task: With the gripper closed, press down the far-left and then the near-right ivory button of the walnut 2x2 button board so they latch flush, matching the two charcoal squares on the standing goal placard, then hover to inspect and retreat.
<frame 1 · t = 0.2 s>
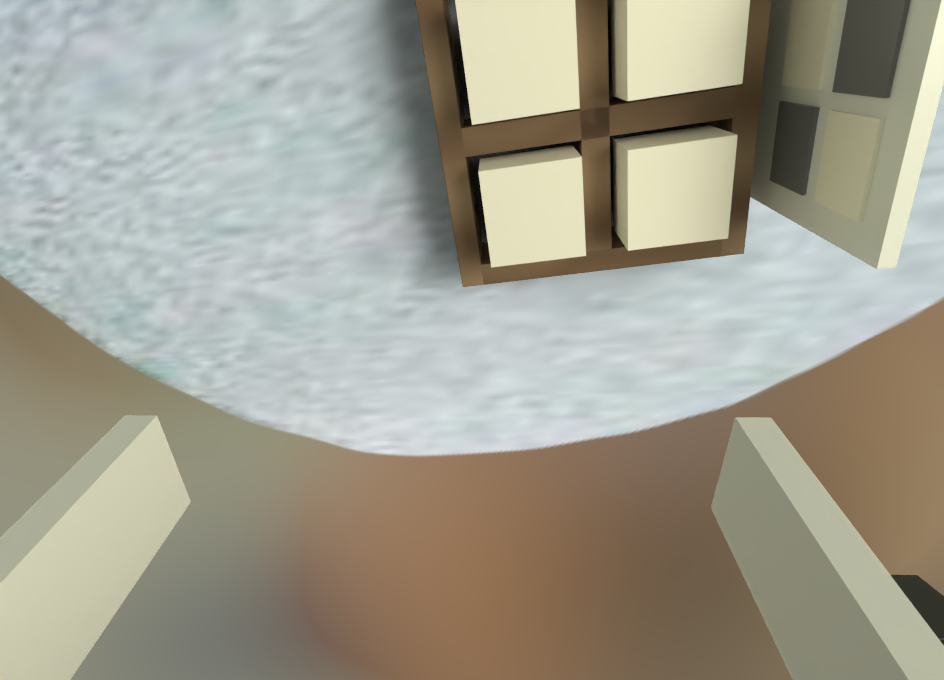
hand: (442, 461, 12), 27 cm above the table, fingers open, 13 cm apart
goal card: (762, 88, 32), on the table
board: (583, 115, 33), on the table
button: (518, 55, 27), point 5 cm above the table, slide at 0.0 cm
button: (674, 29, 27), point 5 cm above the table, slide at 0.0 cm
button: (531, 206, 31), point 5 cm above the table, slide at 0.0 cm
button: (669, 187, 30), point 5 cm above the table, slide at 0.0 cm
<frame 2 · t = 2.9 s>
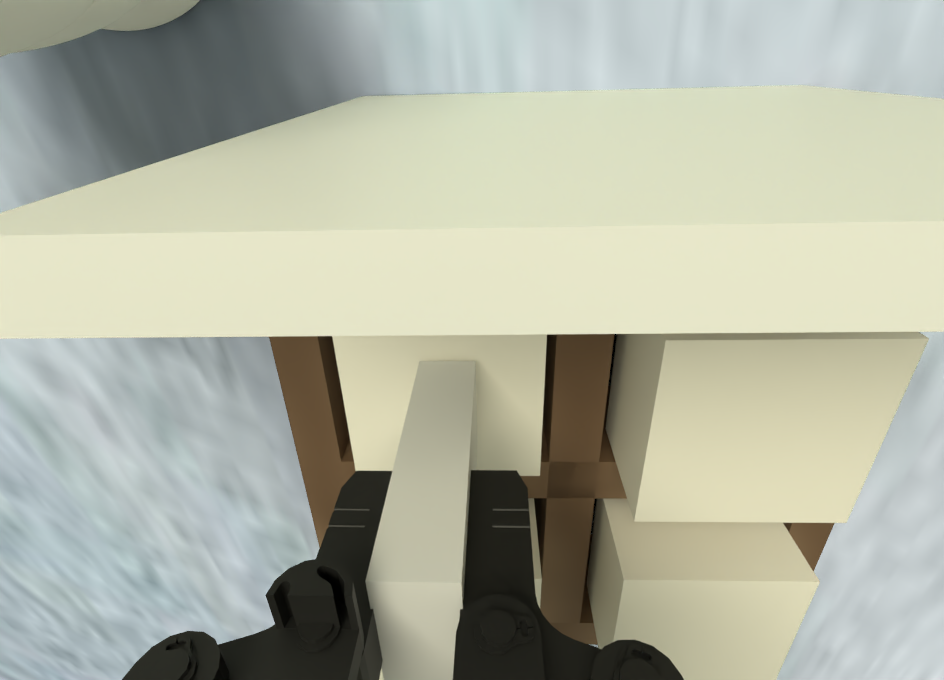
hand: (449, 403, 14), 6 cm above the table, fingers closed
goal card: (576, 105, 16), on the table
board: (557, 402, 21), on the table
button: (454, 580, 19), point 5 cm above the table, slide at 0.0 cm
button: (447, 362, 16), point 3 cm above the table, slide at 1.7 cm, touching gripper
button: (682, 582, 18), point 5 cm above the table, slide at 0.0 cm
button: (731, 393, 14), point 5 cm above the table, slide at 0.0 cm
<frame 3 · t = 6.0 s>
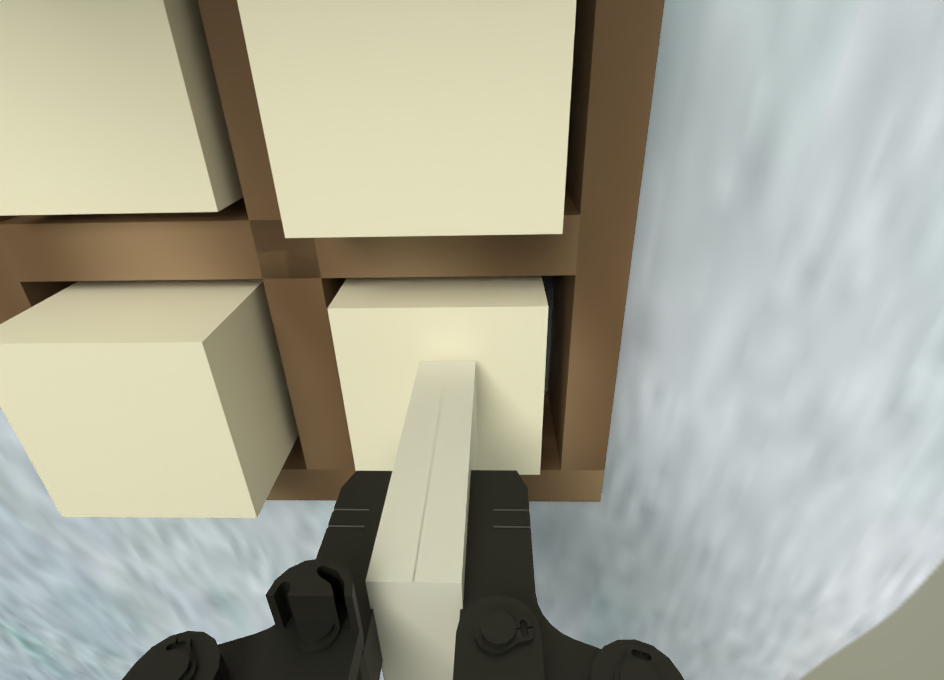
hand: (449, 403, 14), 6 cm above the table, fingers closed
board: (330, 206, 18), on the table
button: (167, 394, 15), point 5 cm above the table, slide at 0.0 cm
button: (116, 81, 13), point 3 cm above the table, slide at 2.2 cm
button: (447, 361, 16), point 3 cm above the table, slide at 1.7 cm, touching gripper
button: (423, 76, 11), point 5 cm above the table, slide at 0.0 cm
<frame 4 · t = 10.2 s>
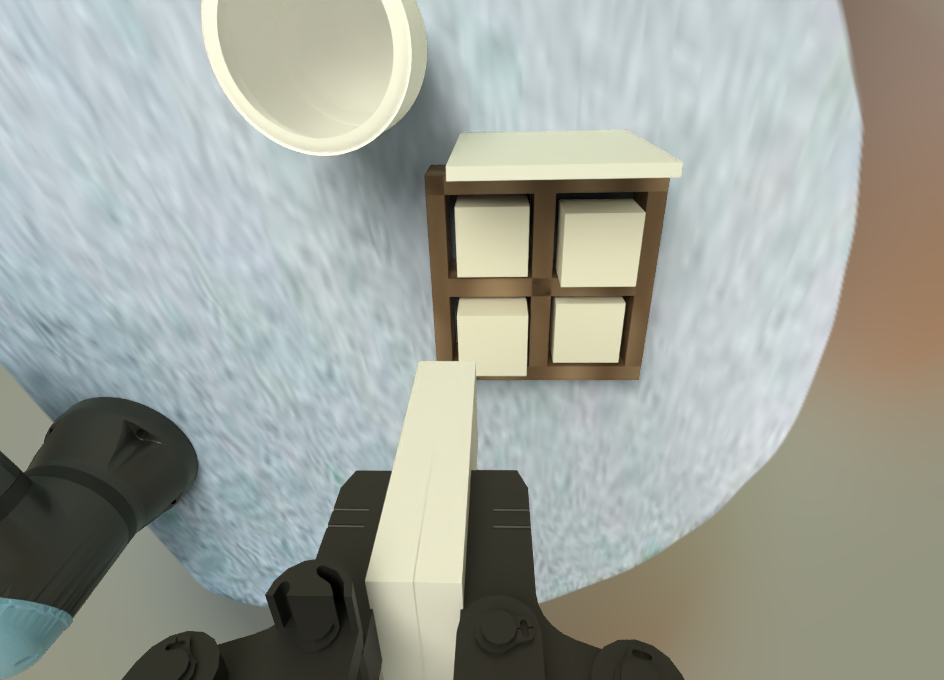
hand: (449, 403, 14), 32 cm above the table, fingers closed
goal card: (542, 136, 41), on the table
jar: (370, 47, 39), on the table
board: (537, 267, 46), on the table
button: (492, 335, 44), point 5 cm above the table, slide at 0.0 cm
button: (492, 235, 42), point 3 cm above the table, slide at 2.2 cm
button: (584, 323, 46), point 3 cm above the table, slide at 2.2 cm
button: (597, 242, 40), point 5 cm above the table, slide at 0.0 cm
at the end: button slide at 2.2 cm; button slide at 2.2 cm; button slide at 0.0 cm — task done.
